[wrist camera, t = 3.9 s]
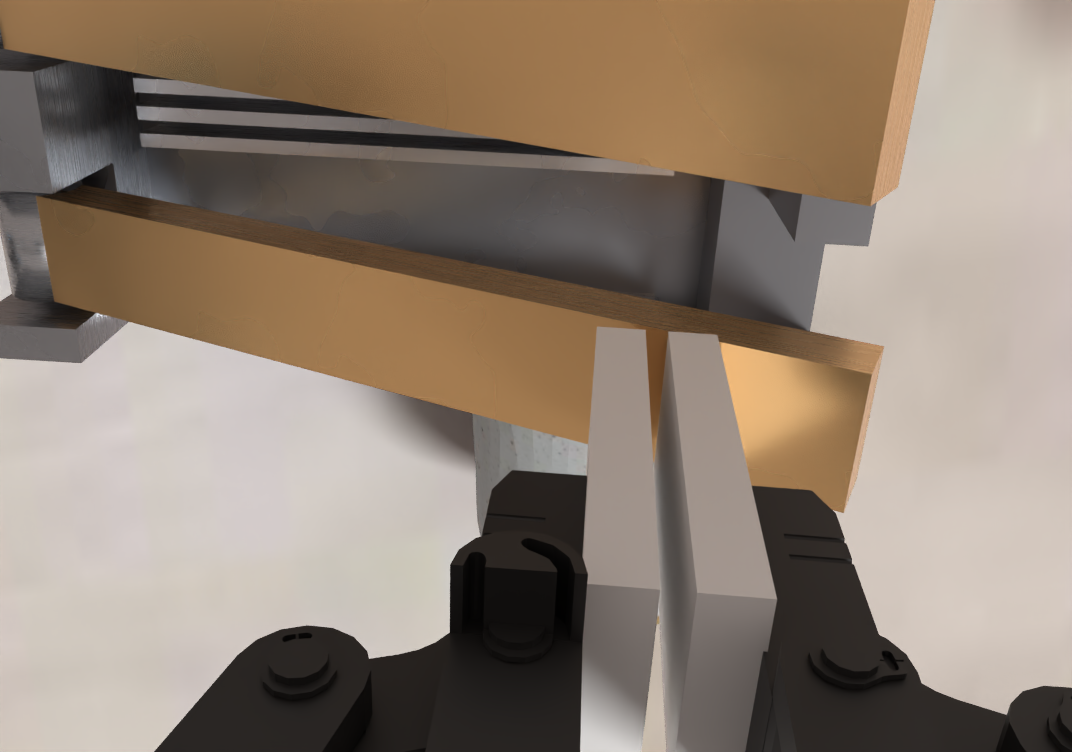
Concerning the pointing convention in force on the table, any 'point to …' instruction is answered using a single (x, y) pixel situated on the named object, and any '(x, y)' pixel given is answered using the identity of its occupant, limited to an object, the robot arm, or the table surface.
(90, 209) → the orange long bar
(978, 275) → the table surface
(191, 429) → the table surface
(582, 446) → the ceramic mug
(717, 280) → the lug bar
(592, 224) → the gray cradle frame
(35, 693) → the table surface
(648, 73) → the strap near
